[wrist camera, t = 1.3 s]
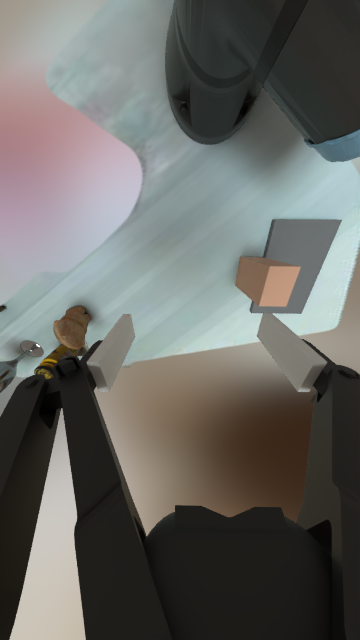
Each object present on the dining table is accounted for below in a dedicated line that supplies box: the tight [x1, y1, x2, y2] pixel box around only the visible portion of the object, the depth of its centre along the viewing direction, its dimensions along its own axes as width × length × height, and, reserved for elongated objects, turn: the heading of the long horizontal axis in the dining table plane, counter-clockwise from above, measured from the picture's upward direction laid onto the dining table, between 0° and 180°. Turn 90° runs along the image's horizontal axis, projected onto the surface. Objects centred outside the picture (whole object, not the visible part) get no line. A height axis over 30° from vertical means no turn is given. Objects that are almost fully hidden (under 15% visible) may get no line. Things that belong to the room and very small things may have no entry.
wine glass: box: [0, 341, 44, 393], centre depth 45 cm, size 8×8×15 cm
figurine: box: [53, 306, 91, 349], centre depth 38 cm, size 8×8×15 cm
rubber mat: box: [250, 220, 342, 314], centre depth 38 cm, size 22×14×1 cm, turn 0°
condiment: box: [34, 341, 89, 379], centre depth 45 cm, size 7×8×12 cm
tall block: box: [235, 257, 301, 307], centre depth 32 cm, size 7×5×14 cm
